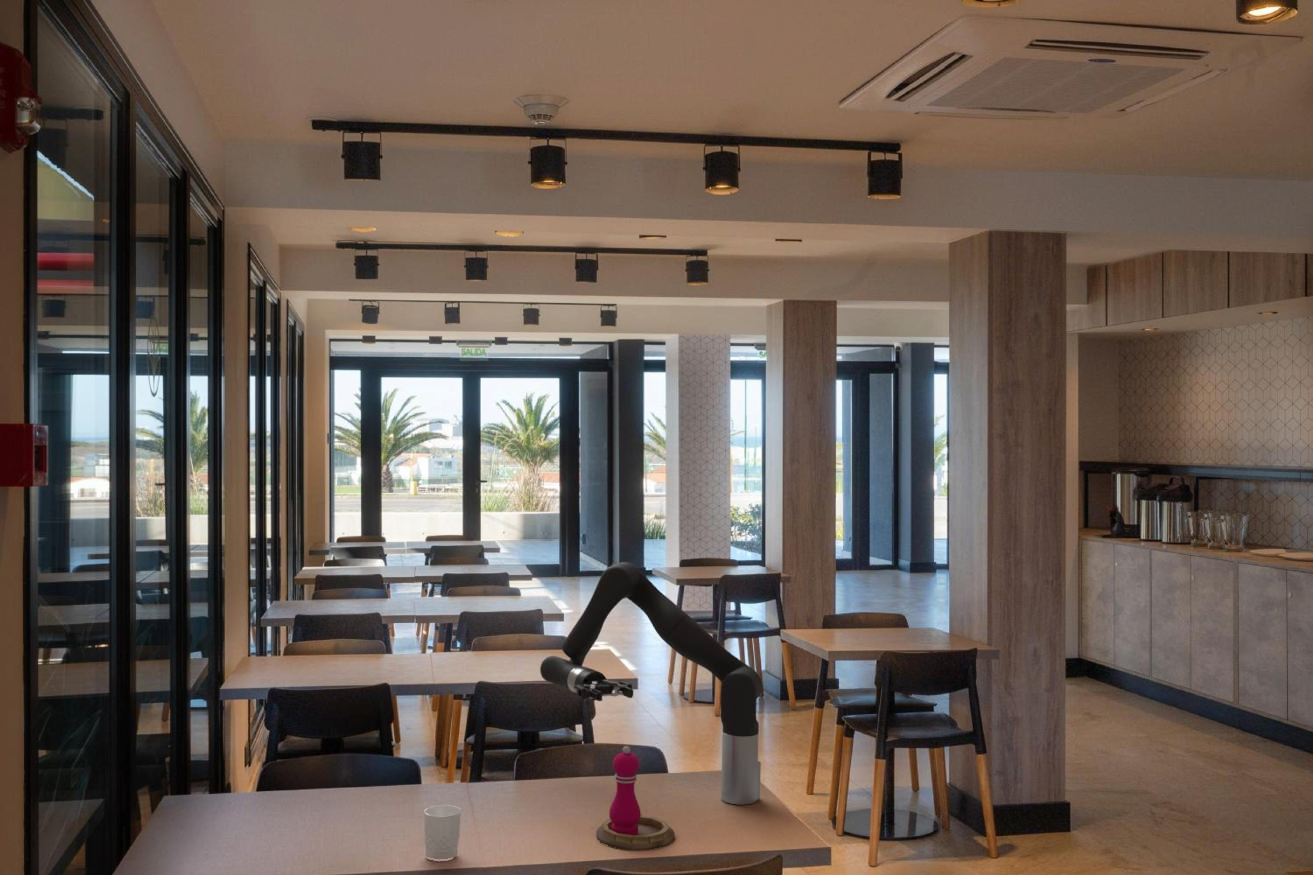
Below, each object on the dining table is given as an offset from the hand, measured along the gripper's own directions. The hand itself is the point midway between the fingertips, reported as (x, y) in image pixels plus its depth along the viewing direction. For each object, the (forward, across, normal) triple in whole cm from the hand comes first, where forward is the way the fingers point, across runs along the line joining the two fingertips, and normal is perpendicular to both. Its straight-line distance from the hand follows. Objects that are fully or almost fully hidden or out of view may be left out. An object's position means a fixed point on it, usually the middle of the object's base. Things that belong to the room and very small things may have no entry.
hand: (616, 695), depth 291 cm
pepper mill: (+20, -8, +27) cm, 35 cm away
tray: (+20, -5, +28) cm, 35 cm away
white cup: (+13, -49, +28) cm, 58 cm away
